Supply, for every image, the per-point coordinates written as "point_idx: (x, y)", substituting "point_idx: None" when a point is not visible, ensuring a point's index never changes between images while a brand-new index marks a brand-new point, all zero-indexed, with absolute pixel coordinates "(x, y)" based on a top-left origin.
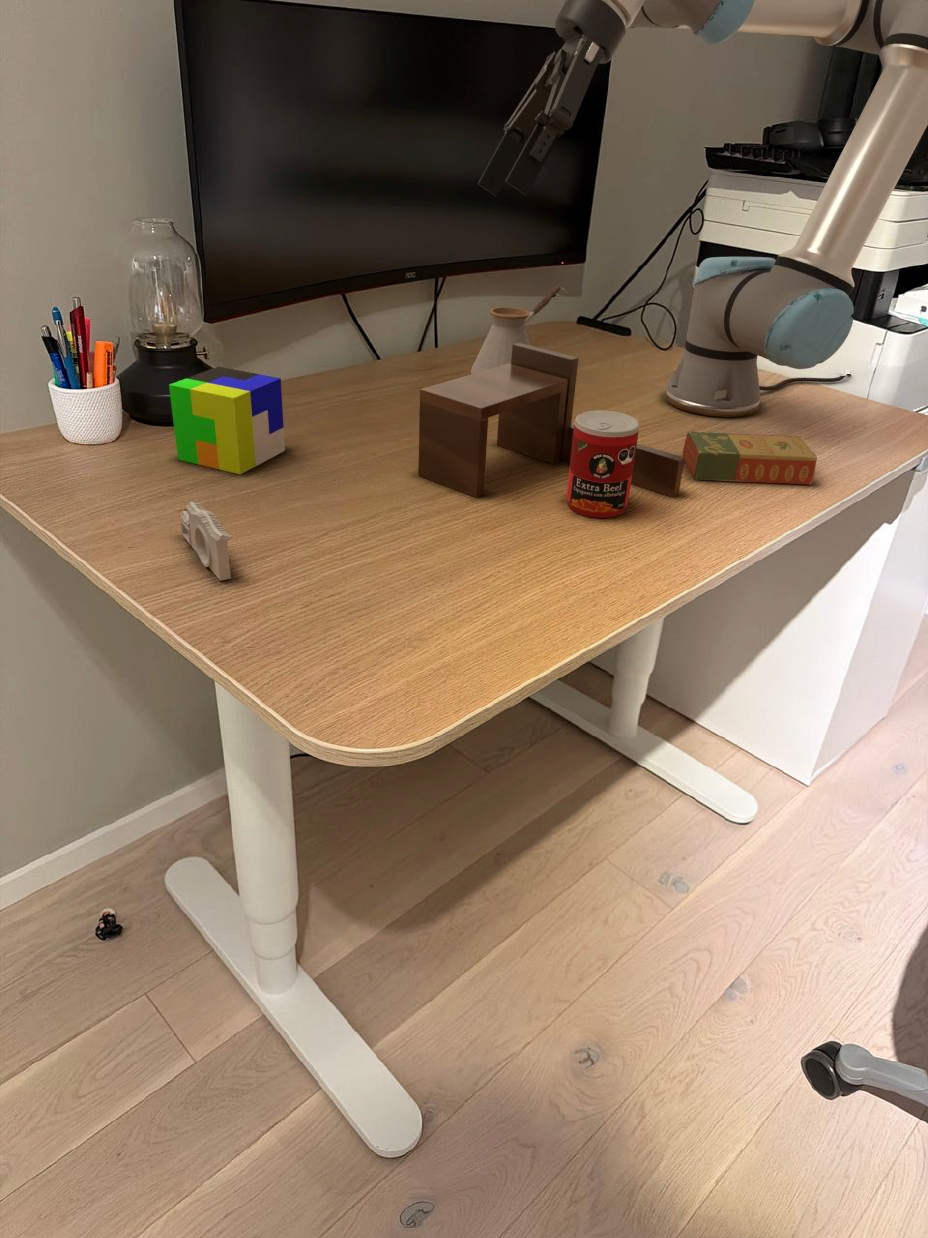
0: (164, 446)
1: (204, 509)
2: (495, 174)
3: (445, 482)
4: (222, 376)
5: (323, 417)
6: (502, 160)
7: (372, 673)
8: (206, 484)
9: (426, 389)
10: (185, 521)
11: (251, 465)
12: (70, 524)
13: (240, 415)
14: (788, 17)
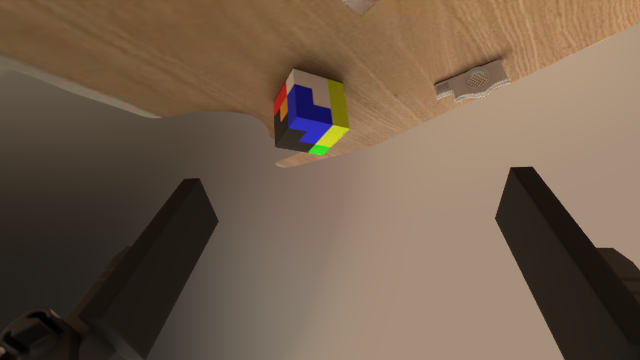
0: None
1: (461, 95)
2: (192, 232)
3: None
4: (299, 141)
5: (200, 55)
6: (173, 268)
7: None
8: (358, 94)
9: (361, 9)
10: (448, 95)
11: (331, 81)
12: (403, 126)
13: (342, 115)
14: None
